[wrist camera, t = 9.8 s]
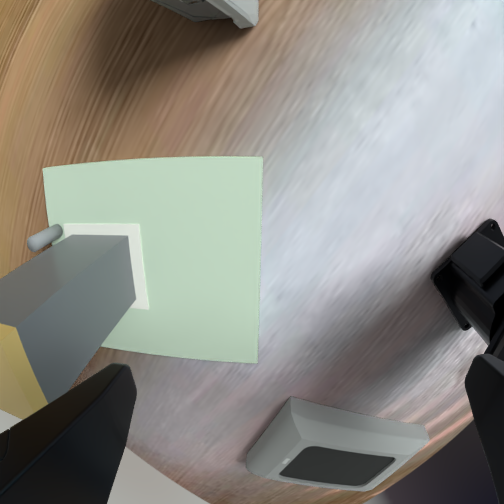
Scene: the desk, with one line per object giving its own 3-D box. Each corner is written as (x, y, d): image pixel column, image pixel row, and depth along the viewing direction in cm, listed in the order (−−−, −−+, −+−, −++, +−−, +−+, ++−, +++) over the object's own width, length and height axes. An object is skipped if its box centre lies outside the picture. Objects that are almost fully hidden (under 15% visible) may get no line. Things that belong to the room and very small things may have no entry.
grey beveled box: (374, 496, 25) (244, 479, 24) (369, 471, 29) (247, 450, 28) (433, 449, 22) (291, 426, 21) (422, 422, 25) (290, 392, 24)
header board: (262, 156, 18) (260, 160, 15) (257, 358, 23) (254, 392, 19) (47, 167, 19) (15, 175, 15) (78, 337, 24) (57, 362, 20)
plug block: (128, 235, 19) (0, 342, 8) (136, 299, 21) (43, 428, 10) (72, 234, 20) (-57, 320, 8) (82, 293, 21) (-20, 399, 10)
